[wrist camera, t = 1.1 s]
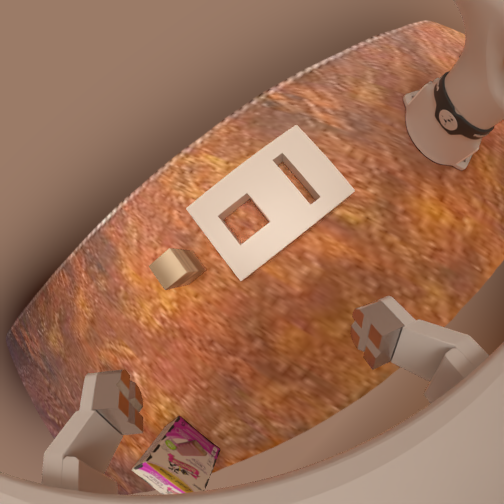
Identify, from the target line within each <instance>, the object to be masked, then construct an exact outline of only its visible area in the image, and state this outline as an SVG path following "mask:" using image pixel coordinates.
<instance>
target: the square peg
mask: <svg viewBox="0 0 504 504" xmlns="http://www.w3.org/2000/svg"><path fill="white" fill-rule="evenodd" d="M149 267H150V269H151V270H152V272H153V273H154V275H155V276H156V278H157V279H158V281H159V282H160V284H161V285H162V286H163V288H164V289H165V290H168V289H172V288H176V287H180V286H184V285H188V284H190V283H191V282H192V281H194V280H195V279H196V278H197V277H199V276H200V275H201V274H202V273H204V272H205V271H206V268H205V267H204V266H203V264H202V263H201V261H200V260H199V259H198V257H197V256H196V255H195V253H194V252H193V251H190V250H182V249H173V248H169V249H168V250H167V251H166V252H164V253H163V254H162V255H161V256H160V257H159V258H158V259H156V260H155V261H154V262H153V263H152V264H151V265H150V266H149Z"/></svg>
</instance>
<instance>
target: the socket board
mask: <svg viewBox="0 0 504 504" xmlns="http://www.w3.org/2000/svg"><path fill="white" fill-rule="evenodd" d="M281 162H283V163H284V164H285V165H286V166H287V167H288V168H289V170H290V171H291V172H292V173H293V174H294V175H295V176H296V178H297V179H298V180H299V181H300V182H301V183H302V185H303V186H304V187H305V188H306V189H307V191H308V192H309V193H310V194H311V195H312V197H313V198H314V199H315V200H316V201H315V202H314V203H312V204H311V205H310V204H309V202H308V201H307V200H306V199H305V198H304V196H303V195H302V194H301V193H300V192H299V190H298V189H297V188H296V187H295V186H294V184H293V183H292V182H291V181H290V180H289V179H288V177H287V176H286V175H285V174H284V173H283V172H282V171H281V169H280V168H279V167H278V166H277V165H278V164H280V163H281ZM354 191H355V190H354V189H353V187H352V186H351V185H350V184H349V182H348V181H347V180H346V179H345V178H344V176H343V175H342V174H341V173H340V172H339V171H338V169H337V168H336V167H335V166H334V165H333V164H332V163H331V161H330V160H329V159H328V158H327V157H326V156H325V155H324V153H323V152H322V151H321V150H320V149H319V148H318V147H317V146H316V145H315V144H314V143H313V141H312V140H311V139H310V138H309V137H308V136H307V135H306V134H305V133H304V132H303V131H302V130H301V129H300V128H299V127H298V126H297V125H295V126H294V127H292V128H291V129H289V130H288V131H286V132H285V133H284V134H282V135H281V136H279V137H278V138H276V139H275V140H274V141H272V142H271V143H269V144H268V145H267V146H265V147H264V148H263V149H261V150H260V151H258V152H257V153H256V154H254V155H253V156H252V157H250V158H249V159H248V160H246V161H245V162H244V163H242V164H241V165H240V166H238V167H237V168H236V169H234V170H233V171H232V172H231V173H229V174H228V175H227V176H225V177H224V178H223V179H222V180H220V181H219V182H218V183H217V184H215V185H214V186H213V187H212V188H210V189H209V190H208V191H207V192H205V193H204V194H203V195H202V196H200V197H199V198H198V199H197V200H196V201H194V202H193V203H192V204H191V205H190V206H188V207H187V208H186V209H187V211H188V212H189V213H190V215H191V216H192V217H193V219H194V220H195V221H196V223H197V224H198V225H199V227H200V228H201V229H202V231H203V232H204V234H205V235H206V236H207V238H208V239H209V240H210V242H211V243H212V244H213V246H214V247H215V248H216V250H217V251H218V252H219V254H220V255H221V256H222V257H223V259H224V260H225V261H226V263H227V264H228V265H229V267H230V268H231V269H232V271H233V272H234V273H235V275H236V276H237V277H238V278H239V280H240V281H242V280H244V279H246V278H247V277H248V276H250V275H251V274H252V273H253V272H255V271H256V270H257V269H259V268H260V267H261V266H262V265H264V264H265V263H266V262H268V261H269V260H270V259H271V258H273V257H274V256H275V255H276V254H278V253H279V252H280V251H282V250H283V249H284V248H285V247H287V246H288V245H289V244H290V243H292V242H293V241H294V240H296V239H297V238H298V237H299V236H301V235H302V234H303V233H304V232H306V231H307V230H308V229H309V228H311V227H312V226H313V225H314V224H316V223H317V222H318V221H319V220H321V219H322V218H323V217H324V216H326V215H327V214H328V213H329V212H331V211H332V210H333V209H334V208H336V207H337V206H338V205H339V204H341V203H342V202H343V201H344V200H346V199H347V198H348V197H349V196H350V195H351V194H352V193H353V192H354ZM249 199H251V200H252V202H253V203H254V204H255V205H256V206H257V208H258V209H259V210H260V211H261V213H262V214H263V215H264V216H265V218H266V219H267V220H268V221H269V223H268V224H267V225H265V226H264V227H263V228H262V229H260V230H259V231H258V232H257V233H255V234H254V235H253V236H251V237H250V238H249V239H248V240H246V241H245V242H244V243H243V244H242V243H241V242H240V241H239V240H238V238H237V237H236V236H235V234H234V233H233V232H232V231H231V229H230V228H229V227H228V225H227V224H226V223H225V221H224V219H225V218H226V217H227V216H229V215H230V214H231V213H232V212H234V211H235V210H236V209H237V208H239V207H240V206H241V205H242V204H244V203H245V202H246V201H248V200H249Z"/></svg>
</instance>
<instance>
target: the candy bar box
mask: <svg viewBox="0 0 504 504" xmlns="http://www.w3.org/2000/svg"><path fill="white" fill-rule="evenodd" d="M219 452H220V449H219V448H218V447H216V446H215V445H214V444H213V443H211V442H210V441H209V440H207V439H206V438H205V437H204V436H202V435H201V434H200V433H199V432H198V431H196V430H195V429H194V428H193V427H192V426H190V425H189V424H188V423H187V422H186V421H185V420H184V419H183V418H181V417H180V416H179V417H177V418H176V419H175V420H173V421H172V422H170V423H169V424H168V425H166V426H165V427H164V429H163V430H162V432H161V433H160V434H159V435H158V437H157V438H156V439H155V441H154V442H153V443H152V444H151V446H150V447H149V448H148V450H147V451H146V452H145V453H144V455H143V456H142V457H141V458H140V459H139V461H138V462H137V463H136V464H135V466H134V467H133V468H132V471H134V472H135V473H136V474H137V475H138V476H140V477H141V478H142V479H143V480H145V481H146V482H147V483H148V484H150V485H151V486H152V487H153V488H155V489H156V490H157V491H159V492H160V493H162V494H163V495H165V494H180V493H191V492H199V491H205V488H206V486H207V483H208V480H209V478H210V475H211V473H212V470H213V467H214V465H215V462H216V460H217V457H218V454H219Z"/></svg>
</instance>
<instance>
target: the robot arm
mask: <svg viewBox="0 0 504 504" xmlns="http://www.w3.org/2000/svg"><path fill="white" fill-rule="evenodd" d="M454 2H455V3H456V5H457V7H458V9H459V11H460V14H461V16H462V19H463V22H464V27H465V36H466V40H465V46H464V49H463V52H462V54H461V56H460V57H459V59H458V61H457V62H456V64H455V65H454V67H453V68H452V69H451V70H450V71H449V72H446V73H445V74H444V75H443V76H441V77H440V78H436V79H435V80H434V81H433V82H432V81H430V82H428V83H427V84H425V85H424V86H423V87H422V88H421V89H420V90H418V91H414V92H411V93H408V94H406V95H405V96H404V97H403V101H404V104H405V107H406V126H407V130H408V133H409V135H410V137H411V139H412V141H413V142H414V144H415V145H416V146H417V148H418V149H419V150H420V151H421V152H422V153H423V154H424V155H425V156H426V157H428V158H429V159H431V160H432V161H434V162H436V163H439V164H443V165H451V166H454V167H455V168H457V169H459V170H464V169H465V168H466V167H467V165H468V163H469V161H470V159H471V157H472V155H473V153H475V152H476V151H477V150H478V149H479V145H480V143H481V140H482V137H484V136H486V135H487V134H489V132H490V131H492V130H493V128H494V126H495V125H496V124H497V123H499V122H500V121H502V120H503V119H504V0H454ZM463 160H464V161H463ZM353 318H354V320H355V322H354V323H353V324H352V326H351V337H352V340H353V343H354V345H355V346H356V347H357V349H359V350H361V351H364V359H365V360H366V361H367V363H368V364H369V366H370V367H371V368H372V370H373V369H375V368H377V367H379V366H381V365H384V364H386V363H388V362H390V361H391V362H392V363H394V364H396V365H398V366H399V367H401V368H404V369H405V370H408V371H409V372H411V373H413V374H415V375H418V376H420V377H421V378H423V379H425V380H427V381H429V382H430V383H429V384H428V386H427V388H426V389H425V391H424V395H425V397H426V398H427V399H428V401H429V402H430V404H429V405H428V406H426V407H425V408H423V409H422V410H420V411H418V412H417V413H415V414H414V415H412V416H411V417H409V418H407V419H406V420H404V421H402V422H401V423H399V424H397V425H396V426H394V427H392V428H390V429H389V430H387V431H385V432H383V433H381V434H379V435H378V436H375V437H373V438H372V439H370V440H368V441H366V442H364V443H362V444H360V445H357V446H355V447H353V448H351V449H349V450H347V451H344V452H342V453H339V454H337V455H335V456H332V457H330V458H327V459H325V460H322V461H320V462H317V463H314V464H312V465H309V466H306V467H303V468H300V469H297V470H294V471H291V472H288V473H285V474H281V475H278V476H274V477H271V478H267V479H263V480H259V481H255V482H250V483H247V484H241V485H237V486H232V487H226V488H221V489H214V490H207V491H199V492H191V493H180V494H165V495H118V489H117V482H116V481H115V480H113V479H112V478H110V477H108V476H106V475H104V473H105V471H106V469H107V467H108V465H109V463H110V461H111V459H112V457H113V455H114V453H115V451H116V449H117V447H118V445H119V443H120V441H121V439H122V437H123V436H122V435H129V434H139V433H143V417H142V416H141V414H140V413H139V412H140V410H141V409H142V407H143V399H142V395H141V391H140V389H139V387H138V386H137V384H136V383H135V382H132V381H130V375H129V373H128V372H127V371H126V370H116V371H107V372H98V373H88V374H87V375H86V376H85V380H84V385H83V391H82V397H81V403H80V409H79V411H76V412H75V413H74V414H73V416H72V417H71V418H70V420H69V421H68V422H67V423H66V425H65V426H64V427H63V429H62V430H61V431H60V433H59V434H58V435H57V437H56V438H55V439H54V441H53V442H52V443H51V444H50V446H49V447H48V449H47V450H46V451H45V453H44V460H43V471H42V484H40V483H36V482H32V481H28V480H25V479H20V478H18V477H14V476H11V475H8V474H5V473H2V472H0V504H504V342H503V343H502V344H501V345H500V346H499V347H498V348H497V349H496V350H495V351H494V352H493V353H492V354H491V355H490V356H489V355H488V354H487V353H486V352H485V351H484V350H483V349H482V348H481V347H480V346H479V345H478V344H477V343H476V342H475V341H474V340H473V339H472V338H471V337H470V336H469V335H467V334H463V333H460V332H457V331H454V330H451V329H448V328H445V327H442V326H438V325H435V324H432V323H429V322H426V321H423V320H420V319H418V320H415V319H414V318H413V317H412V316H411V315H410V314H409V313H408V312H407V311H406V310H405V309H404V308H403V307H402V306H401V305H400V304H399V303H398V302H397V301H396V300H395V299H394V298H393V297H391V296H386V297H384V298H382V299H379V300H377V301H374V302H371V303H369V304H366V305H364V306H361V307H359V308H356V309H355V310H354V312H353Z"/></svg>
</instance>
